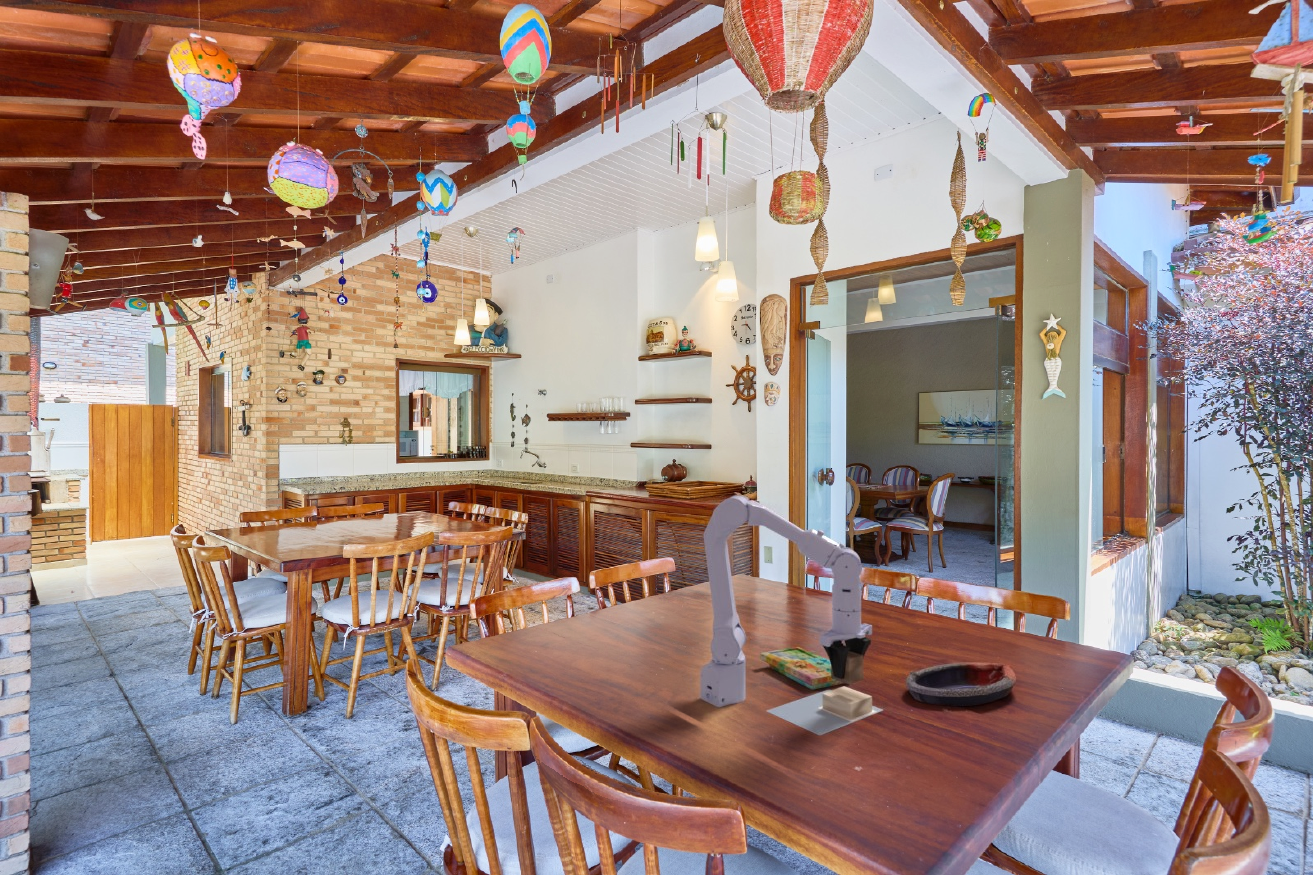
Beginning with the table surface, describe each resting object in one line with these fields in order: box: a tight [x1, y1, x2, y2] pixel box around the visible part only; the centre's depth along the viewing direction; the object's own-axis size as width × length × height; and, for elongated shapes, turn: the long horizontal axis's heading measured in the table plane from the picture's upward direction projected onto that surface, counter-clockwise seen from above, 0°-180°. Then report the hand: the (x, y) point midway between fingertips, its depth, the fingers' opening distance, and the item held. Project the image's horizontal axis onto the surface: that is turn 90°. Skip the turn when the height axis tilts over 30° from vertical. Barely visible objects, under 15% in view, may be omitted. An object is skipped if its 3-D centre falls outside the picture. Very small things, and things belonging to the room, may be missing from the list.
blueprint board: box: [765, 689, 884, 736], centre depth 134 cm, size 20×14×1 cm
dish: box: [905, 662, 1017, 707], centre depth 146 cm, size 16×31×5 cm, turn 114°
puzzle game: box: [759, 646, 844, 690], centre depth 156 cm, size 12×5×20 cm
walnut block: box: [831, 651, 864, 685], centre depth 135 cm, size 4×4×5 cm
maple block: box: [822, 686, 873, 720], centre depth 135 cm, size 7×7×3 cm
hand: (846, 674), depth 135 cm, fingers closed on walnut block, 4 cm apart
